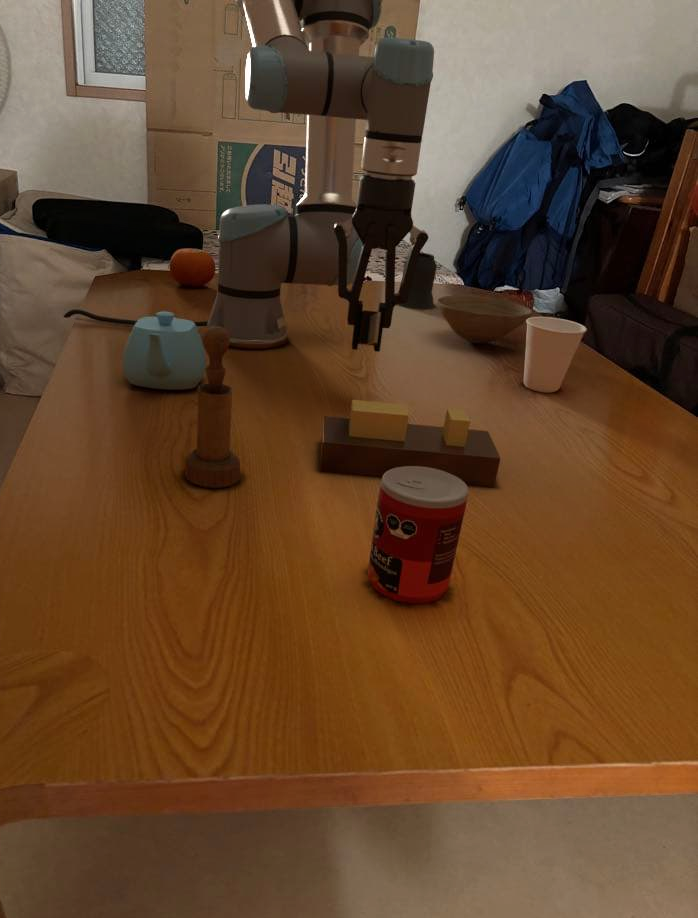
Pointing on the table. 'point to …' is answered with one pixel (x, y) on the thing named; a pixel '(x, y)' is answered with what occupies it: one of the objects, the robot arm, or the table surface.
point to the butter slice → (456, 427)
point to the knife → (369, 328)
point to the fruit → (192, 267)
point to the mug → (422, 283)
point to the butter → (378, 420)
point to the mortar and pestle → (213, 421)
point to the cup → (549, 351)
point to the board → (408, 453)
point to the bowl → (481, 317)
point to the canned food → (416, 533)
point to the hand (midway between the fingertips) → (365, 347)
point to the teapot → (164, 353)
